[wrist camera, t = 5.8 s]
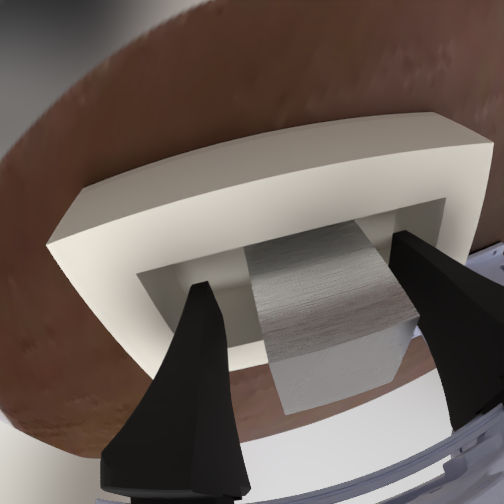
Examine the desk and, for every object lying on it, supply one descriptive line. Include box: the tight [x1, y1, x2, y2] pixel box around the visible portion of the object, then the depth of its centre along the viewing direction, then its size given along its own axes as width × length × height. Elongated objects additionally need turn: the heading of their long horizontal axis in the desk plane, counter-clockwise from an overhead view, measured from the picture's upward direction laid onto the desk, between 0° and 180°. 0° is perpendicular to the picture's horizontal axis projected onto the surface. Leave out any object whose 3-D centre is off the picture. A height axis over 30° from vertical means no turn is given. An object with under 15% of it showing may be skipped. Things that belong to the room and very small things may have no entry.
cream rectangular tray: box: [46, 112, 494, 379], centre depth 12 cm, size 16×9×4 cm, turn 101°
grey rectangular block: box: [243, 219, 420, 415], centre depth 11 cm, size 4×4×7 cm
